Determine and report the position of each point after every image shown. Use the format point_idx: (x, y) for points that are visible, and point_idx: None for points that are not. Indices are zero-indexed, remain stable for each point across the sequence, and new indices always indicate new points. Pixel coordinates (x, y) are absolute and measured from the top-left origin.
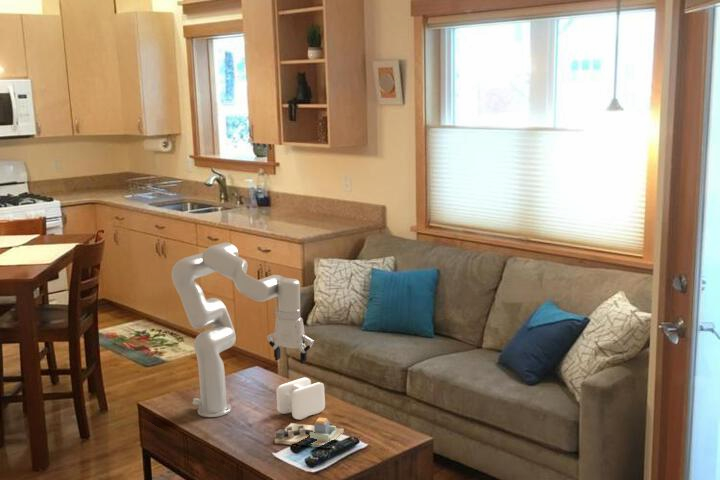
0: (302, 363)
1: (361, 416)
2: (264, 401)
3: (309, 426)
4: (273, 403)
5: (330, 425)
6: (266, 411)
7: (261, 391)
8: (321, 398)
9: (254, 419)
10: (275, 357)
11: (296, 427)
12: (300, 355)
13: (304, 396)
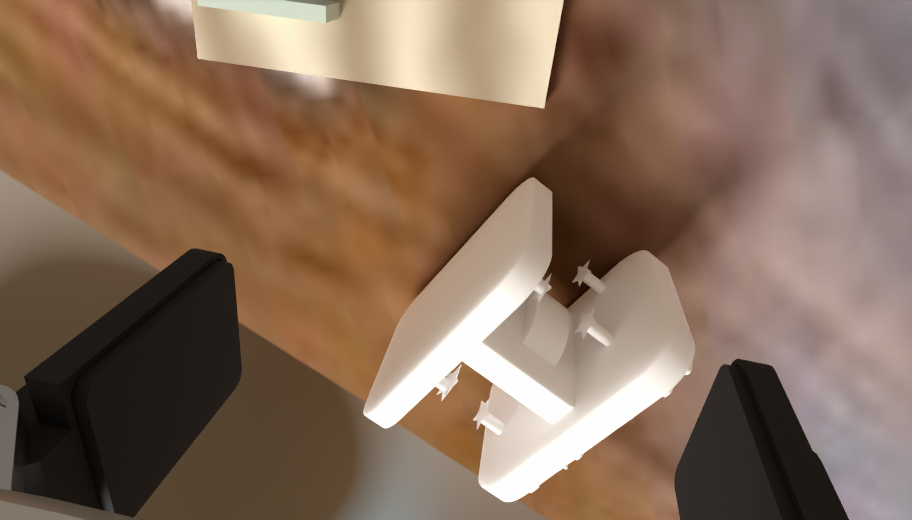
0: (195, 259)
1: None
2: None
3: (410, 69)
4: None
5: (234, 9)
6: (741, 298)
7: None
8: (395, 341)
9: (810, 186)
10: (779, 406)
11: (490, 42)
12: (119, 354)
13: (465, 286)
